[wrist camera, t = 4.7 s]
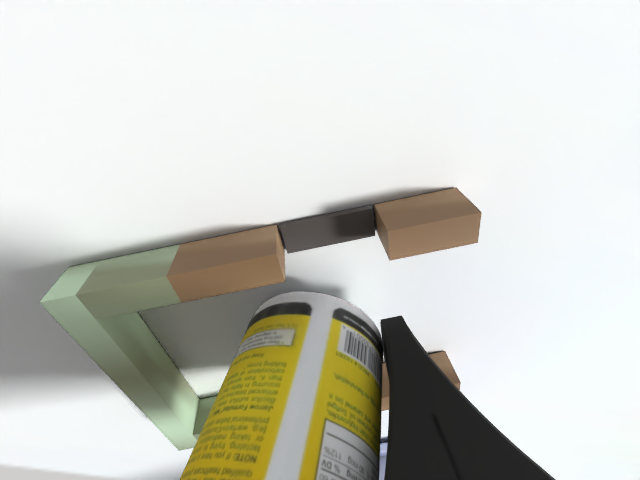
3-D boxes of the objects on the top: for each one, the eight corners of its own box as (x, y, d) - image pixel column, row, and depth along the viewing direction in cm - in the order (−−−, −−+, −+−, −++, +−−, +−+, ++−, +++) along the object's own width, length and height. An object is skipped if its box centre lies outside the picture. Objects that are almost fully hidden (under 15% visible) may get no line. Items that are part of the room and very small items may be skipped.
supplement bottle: (250, 353, 14) (106, 700, 7) (258, 270, 11) (21, 727, 4) (365, 385, 13) (331, 776, 7) (404, 309, 10) (414, 861, 4)
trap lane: (443, 364, 15) (458, 395, 14) (187, 415, 15) (178, 450, 14) (456, 187, 10) (481, 212, 9) (68, 267, 10) (38, 302, 9)
